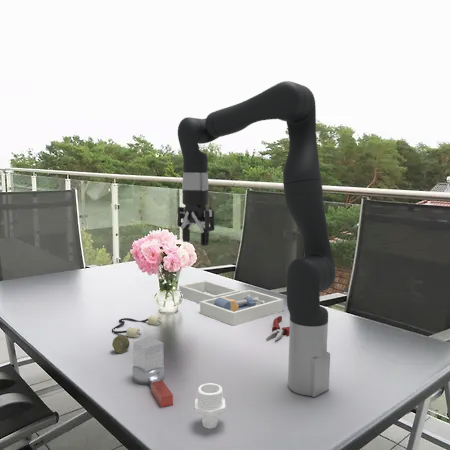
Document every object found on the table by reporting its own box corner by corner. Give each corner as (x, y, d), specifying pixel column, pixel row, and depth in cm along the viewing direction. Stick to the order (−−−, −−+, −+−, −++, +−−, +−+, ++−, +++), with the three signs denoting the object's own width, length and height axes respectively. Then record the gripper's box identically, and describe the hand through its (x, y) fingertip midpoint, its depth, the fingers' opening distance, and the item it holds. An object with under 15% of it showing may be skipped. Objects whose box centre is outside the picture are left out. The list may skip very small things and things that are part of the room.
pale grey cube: (163, 367, 117) (163, 343, 116) (145, 373, 113) (144, 348, 113) (151, 360, 121) (151, 337, 120) (133, 366, 117) (133, 342, 117)
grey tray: (239, 301, 187) (240, 290, 187) (213, 308, 178) (213, 296, 177) (205, 290, 204) (205, 280, 203) (179, 295, 194) (179, 285, 194)
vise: (226, 322, 162) (227, 304, 161) (210, 314, 170) (210, 297, 169) (265, 313, 172) (265, 296, 171) (248, 306, 181) (248, 290, 180)
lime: (131, 349, 136) (130, 333, 135) (123, 355, 131) (123, 339, 131) (117, 347, 137) (117, 331, 137) (109, 354, 133) (109, 337, 132)
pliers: (253, 340, 146) (253, 331, 145) (278, 321, 164) (278, 314, 164) (288, 347, 140) (288, 339, 140) (310, 327, 158) (310, 320, 158)
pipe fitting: (224, 415, 100) (224, 380, 99) (225, 434, 93) (225, 397, 92) (195, 415, 100) (195, 380, 99) (194, 434, 93) (194, 397, 92)
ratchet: (183, 402, 105) (183, 375, 105) (150, 409, 102) (149, 382, 101) (159, 369, 123) (158, 345, 122) (129, 374, 119) (129, 350, 119)
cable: (97, 334, 150) (96, 324, 149) (124, 319, 165) (124, 310, 164) (137, 341, 144) (137, 330, 144) (162, 325, 159) (162, 315, 159)
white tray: (283, 310, 175) (283, 299, 175) (233, 325, 158) (233, 313, 157) (249, 300, 189) (249, 289, 188) (199, 313, 171) (200, 301, 171)
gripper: (170, 187, 135) (170, 241, 137) (201, 189, 124) (200, 248, 126) (190, 187, 140) (190, 239, 142) (221, 189, 129) (220, 245, 131)
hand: (195, 243), depth 134 cm, fingers open, 8 cm apart
